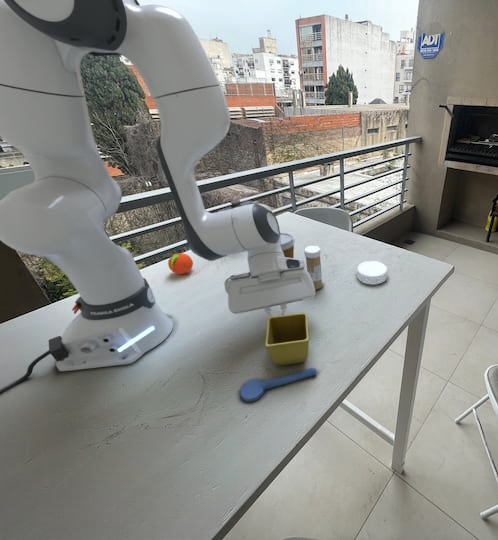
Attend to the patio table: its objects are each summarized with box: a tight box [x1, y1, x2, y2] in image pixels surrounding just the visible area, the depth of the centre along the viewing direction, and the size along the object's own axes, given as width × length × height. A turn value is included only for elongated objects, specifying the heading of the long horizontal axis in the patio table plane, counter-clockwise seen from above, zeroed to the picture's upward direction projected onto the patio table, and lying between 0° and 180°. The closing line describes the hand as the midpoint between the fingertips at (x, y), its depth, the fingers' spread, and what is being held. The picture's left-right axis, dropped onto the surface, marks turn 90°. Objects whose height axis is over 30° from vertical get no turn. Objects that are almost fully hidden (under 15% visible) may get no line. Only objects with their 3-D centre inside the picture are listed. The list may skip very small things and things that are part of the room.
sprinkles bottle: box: [304, 245, 323, 291], centre depth 86 cm, size 5×5×14 cm
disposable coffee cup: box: [280, 232, 295, 259], centre depth 94 cm, size 10×10×12 cm
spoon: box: [239, 367, 317, 403], centre depth 60 cm, size 16×5×2 cm, turn 111°
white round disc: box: [356, 260, 388, 286], centre depth 94 cm, size 10×10×4 cm
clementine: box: [167, 252, 194, 275], centre depth 93 cm, size 8×7×7 cm
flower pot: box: [264, 312, 310, 366], centre depth 64 cm, size 9×9×9 cm
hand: (278, 324), depth 68 cm, fingers closed
